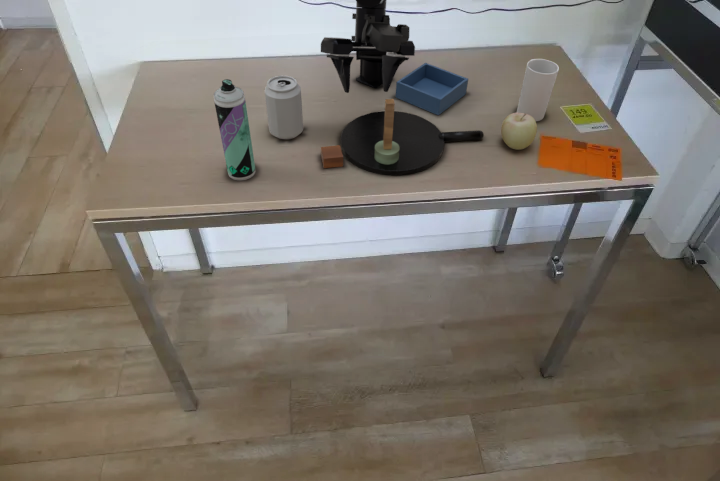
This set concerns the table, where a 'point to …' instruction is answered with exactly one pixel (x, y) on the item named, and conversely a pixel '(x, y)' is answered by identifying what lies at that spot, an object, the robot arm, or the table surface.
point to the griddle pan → (398, 142)
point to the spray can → (234, 130)
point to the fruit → (518, 130)
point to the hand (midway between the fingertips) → (366, 92)
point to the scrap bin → (431, 88)
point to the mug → (537, 87)
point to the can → (284, 107)
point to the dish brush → (387, 138)
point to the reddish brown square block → (332, 156)
